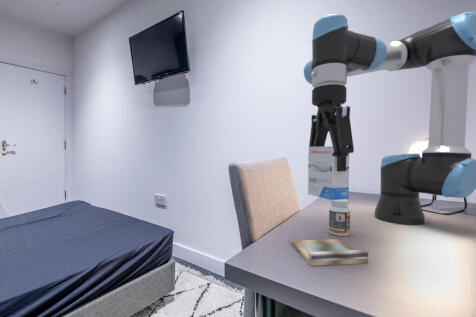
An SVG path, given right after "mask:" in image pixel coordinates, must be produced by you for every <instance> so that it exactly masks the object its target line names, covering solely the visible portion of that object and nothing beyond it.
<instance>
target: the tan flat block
mask: <svg viewBox="0 0 476 317" xmlns="http://www.w3.org/2000/svg"><path fill="white" fill-rule="evenodd" d="M290 242H291V243H290V244H291V246H292V247H293V248H294V249H295V251H297V253H298V254H299V255H300V257H302V259H304V261H305V262H306V263H307V264H308V265H309V266H310V267H315V266H335V265H339V266H340V265H356V264H358V265H359V264H369V251H368V250H367V249H355V248H353V247H352V246H351V245H349V244H348V243H346V242H344V241H343V240H341V239H340V238H330V239H327V238H326V239H325V238H324V239H321V238H320V239H304V240H302V239H301V240H300V239H298V240H294V239H293V240H290Z"/></svg>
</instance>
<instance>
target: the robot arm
mask: <svg viewBox="0 0 476 317" xmlns="http://www.w3.org/2000/svg"><path fill="white" fill-rule="evenodd" d="M348 21H349V20H348V19H347V17H346V16H345V15H344V14H342V13H329V14H326V15H324V16H322V17H320V18H319V19H317V20H316V21H315V23H314V25H313V29H312V39H311V43H312V46H311V47H312V50H311V52H312V53H311V54H312V59H311V60H309V61H308V62H306V64H305V65H304V68H303V76H304V79H305V81H306V82H307V83H308V84H310V85H312V87H313V88H312V90H311V103H312V104H311V105H313V106H314V107H317V112H316V114H312V115H311V118H310V119H311V124H310V125H311V126H310V134H309V144H308V149H309V148H310V147H324V146H325V145H326V142H327V136H328V133H329V136H330V140H331V146H333V149H334V152H333V154H332V187H346V157H347V156H348V154H349V155H350V154H353V153H354V151H355V147H354V142H353V141H354V140H353V131H352V125H351V118H350V117H351V107H350V106H349V105H344V104H346V102H347V90H348V89H347V87H346V85H347V83H348V77H353V76H359V75H364V74H368V73H374V72H379V71H387V72H397V71H403V70H412V69H418V68H423V67H425V68H426V69H427V70H428V71H429V72H431V84H430V86H431V87H430V102H429V103H430V105H429V106H430V107H429V125H428V126H429V127H428V145H427V146H428V147H427V148H425V149H424V150H422V152H421V155H420V153H404V154H392V155H387V156H384V157H382V159H381V163H380V164H381V165H380V167H379V168H380V195H379V198H378V201H377V204H376V206H375V209H374V217H375V218H377V219H378V220H381V221H385V222H388V223H389V222H390V223H395V224H402V225H423V224H425V222H426V216H425V213H424V210H423V207H422V204H421V201H420V194H427V195H432V196H433V195H434V196H441V197H444V198H456V199H457V198H458V199H463V198H464V199H465V198H466V197H469V196H470V195H472V194H473V193H474V192H475V190H476V159H475V158H472V152H471V151H470V150H468V149H467V148H466V132H467V131H466V130H467V112H468V111H467V109H468V108H467V107H468V94H469V93H468V89H469V74H470V72H469V71H470V70H469V69H470V68H469V67H470V66H471V65H472V64H473V63H475V62H476V12H474V11H466V12H463V13H460V14H457V15H453V16H451V17H449V18H447V19H445V20H442V21H440V22H437V23H436V24H433V25H431V26H429V27H426V28H424V29H422V30H418V31H416V32H413V33H412V34H410V35H408V36H405V37H403V38H401V39H399V40H393V41H391V42H388V43H387V44H386V43H385V41H383V40H381V39H379V38H376V37H375V36H371V35H367V34H364V33H363V34H362V33H358V32H354V31H353V30H349V24H348Z"/></svg>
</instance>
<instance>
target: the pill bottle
mask: <svg viewBox="0 0 476 317" xmlns="http://www.w3.org/2000/svg"><path fill="white" fill-rule="evenodd" d="M330 204H331V206H329V208H328V232H329V233H330V234H332V235H333V236H338V237H347V236H349V235H350V234H351V209H350V208H349V207H348V206H349V200H348V199H340V200H330Z"/></svg>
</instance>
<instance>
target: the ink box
mask: <svg viewBox="0 0 476 317" xmlns="http://www.w3.org/2000/svg"><path fill="white" fill-rule="evenodd" d="M307 152H308V160H307V162H308V167H307V171H308V173H307V195H309V196H314V197H318V198H321V199H322V198H323V199H326V200H327V199H328V200H330V201H331V200H340V199H345V200H348V199H349V197H350V195H349V193H350V191H349V190H350V188H349V187H350V184H349V182H350V153H349V154H348V156H347V157H346V187H332V154H333V152H334V149H333V145H330V146H327V145H326V146H325V145H324V147H310V148H309V147H308V151H307Z"/></svg>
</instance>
